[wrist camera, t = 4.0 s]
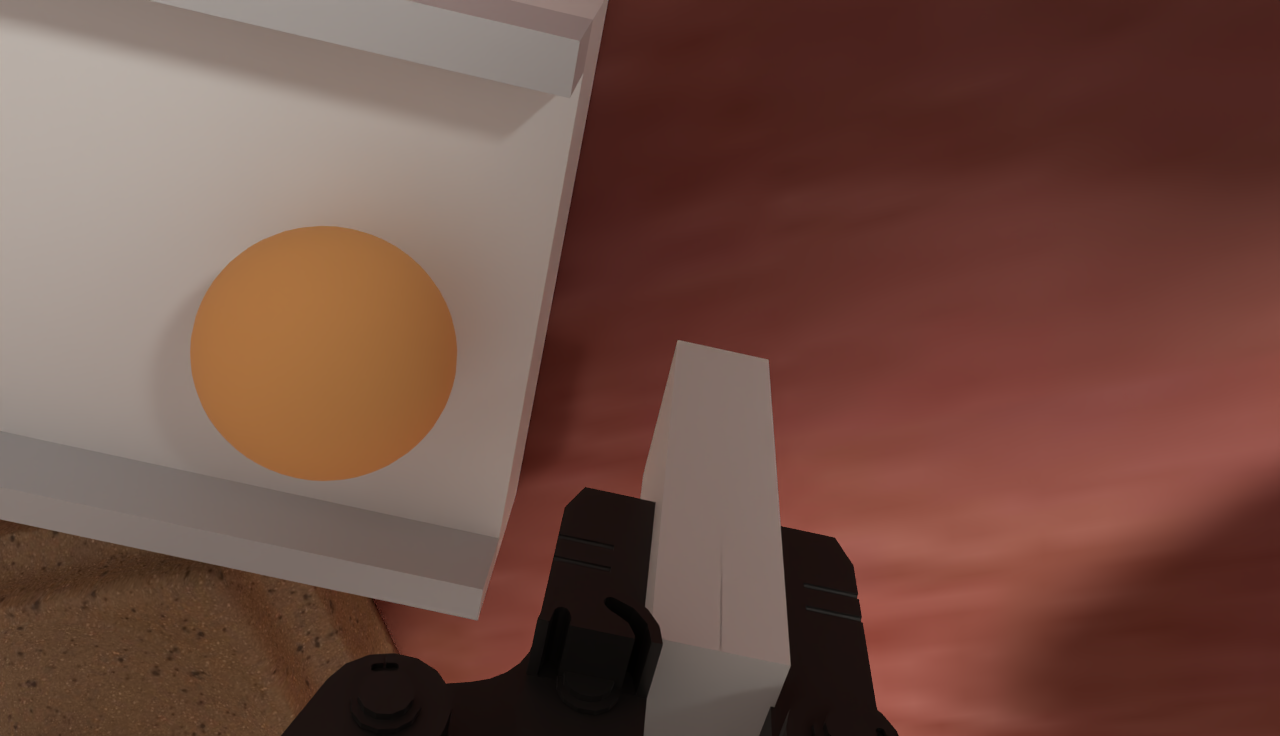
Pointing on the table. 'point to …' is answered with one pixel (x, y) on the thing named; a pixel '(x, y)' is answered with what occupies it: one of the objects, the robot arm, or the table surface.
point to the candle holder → (162, 641)
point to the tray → (252, 211)
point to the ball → (323, 353)
